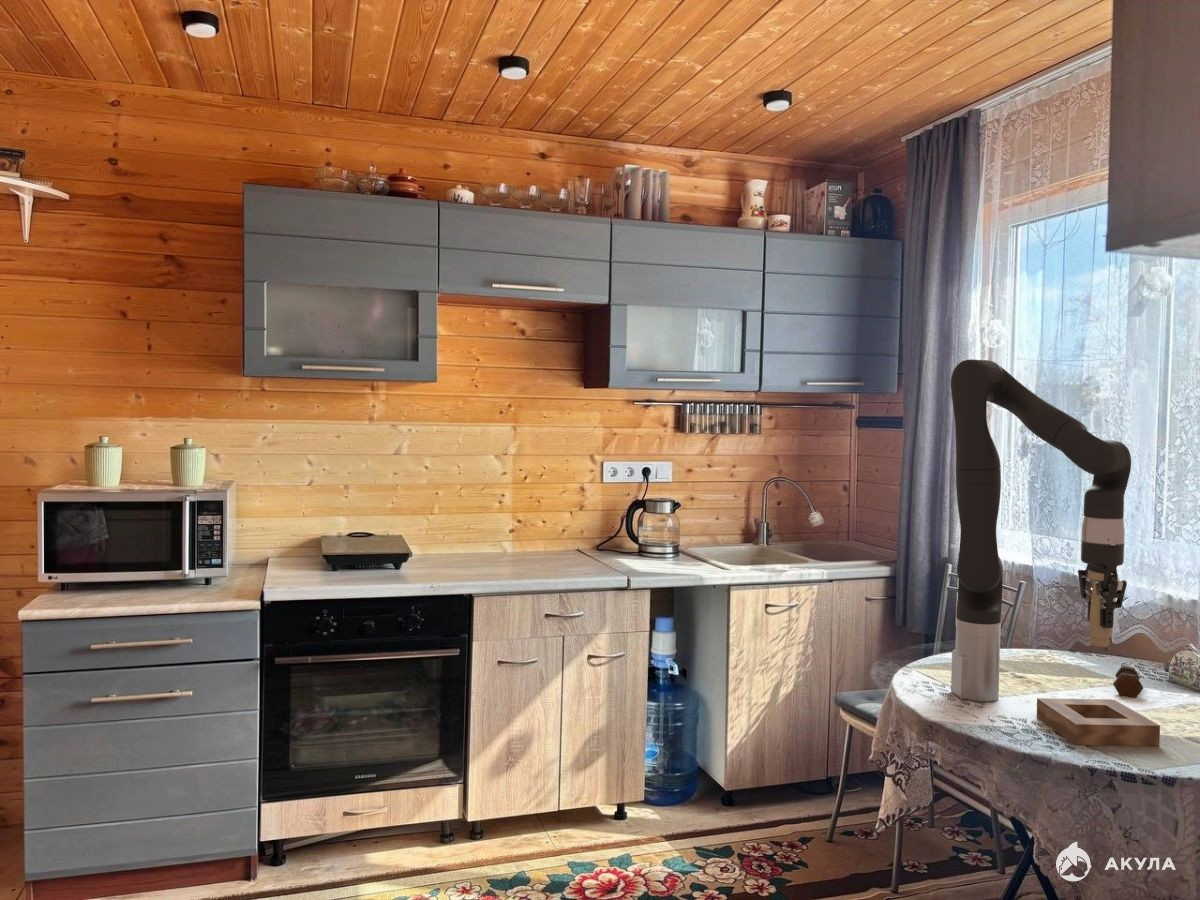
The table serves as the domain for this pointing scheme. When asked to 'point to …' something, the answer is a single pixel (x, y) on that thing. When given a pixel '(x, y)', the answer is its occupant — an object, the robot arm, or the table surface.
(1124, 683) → the dark brown hexagonal dumbbell
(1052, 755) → the table surface
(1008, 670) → the table surface
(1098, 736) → the socket block
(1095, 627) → the handle
